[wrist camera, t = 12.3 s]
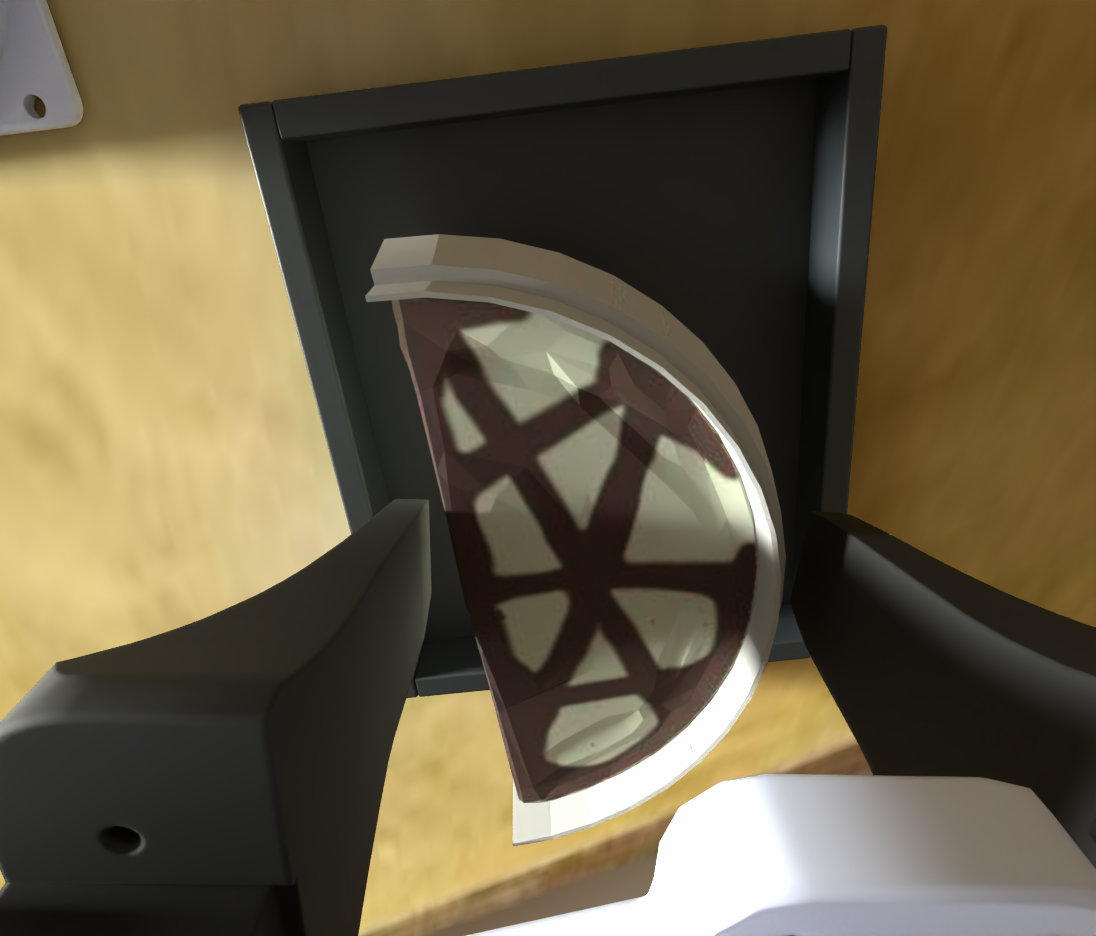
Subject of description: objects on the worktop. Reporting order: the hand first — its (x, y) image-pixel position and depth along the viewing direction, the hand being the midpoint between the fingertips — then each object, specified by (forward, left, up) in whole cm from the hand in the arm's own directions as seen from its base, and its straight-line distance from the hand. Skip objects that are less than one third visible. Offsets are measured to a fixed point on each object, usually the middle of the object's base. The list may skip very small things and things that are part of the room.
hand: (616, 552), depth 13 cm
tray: (0, 0, -9) cm, 9 cm away
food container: (0, 0, -9) cm, 9 cm away
